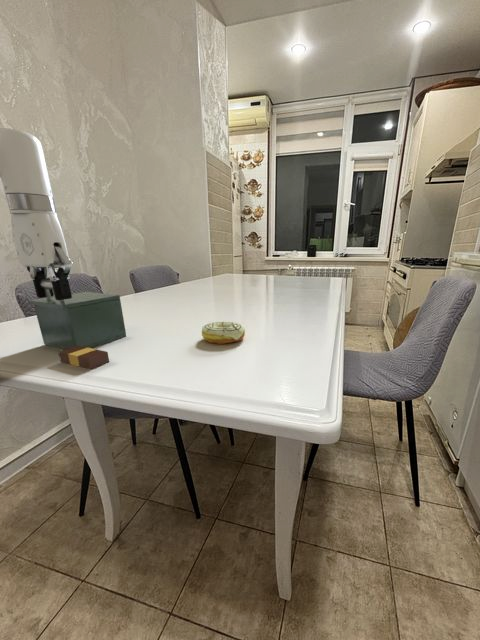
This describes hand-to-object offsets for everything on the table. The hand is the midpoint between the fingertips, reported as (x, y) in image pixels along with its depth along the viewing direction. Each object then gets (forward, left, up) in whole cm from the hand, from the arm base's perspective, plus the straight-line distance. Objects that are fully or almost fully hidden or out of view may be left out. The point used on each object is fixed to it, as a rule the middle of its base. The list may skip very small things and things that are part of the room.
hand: (54, 297), depth 64 cm
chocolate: (+12, -4, -11) cm, 18 cm away
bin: (0, +5, -11) cm, 13 cm away
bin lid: (0, +5, -2) cm, 5 cm away
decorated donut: (+30, +21, -12) cm, 38 cm away
